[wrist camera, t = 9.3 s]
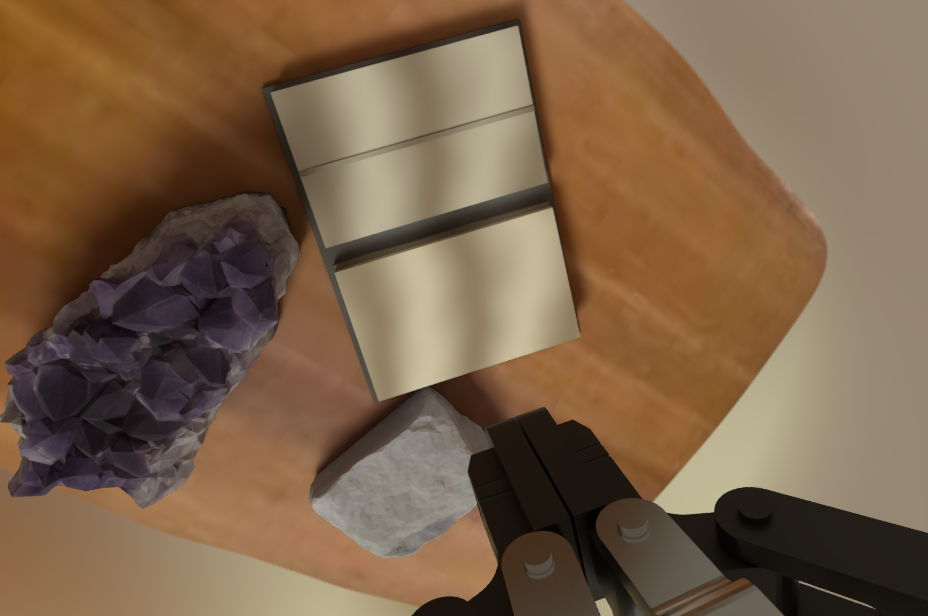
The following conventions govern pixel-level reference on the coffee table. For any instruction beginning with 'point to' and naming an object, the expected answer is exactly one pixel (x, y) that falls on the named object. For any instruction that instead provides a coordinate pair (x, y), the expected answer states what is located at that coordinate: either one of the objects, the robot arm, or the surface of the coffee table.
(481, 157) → the laid floor
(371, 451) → the stone block
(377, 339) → the beige flat rectangular panel
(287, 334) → the coffee table surface
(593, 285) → the coffee table surface
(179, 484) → the geode
